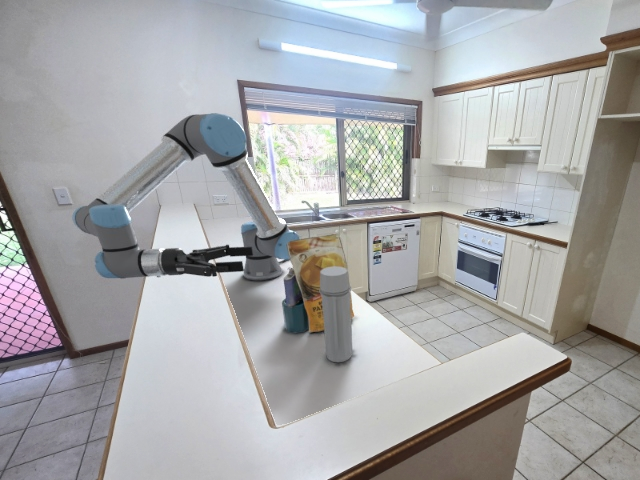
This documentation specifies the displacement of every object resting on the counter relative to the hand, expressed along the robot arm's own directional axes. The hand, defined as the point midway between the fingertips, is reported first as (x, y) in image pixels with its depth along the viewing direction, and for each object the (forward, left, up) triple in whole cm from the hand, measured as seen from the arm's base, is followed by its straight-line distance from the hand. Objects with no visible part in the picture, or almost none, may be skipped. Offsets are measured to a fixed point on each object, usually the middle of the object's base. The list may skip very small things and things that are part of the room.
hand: (248, 258), depth 96 cm
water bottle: (+23, +24, -22) cm, 40 cm away
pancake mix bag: (+4, +23, -22) cm, 32 cm away
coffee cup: (+4, +12, -22) cm, 26 cm away
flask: (+4, +12, -13) cm, 18 cm away
